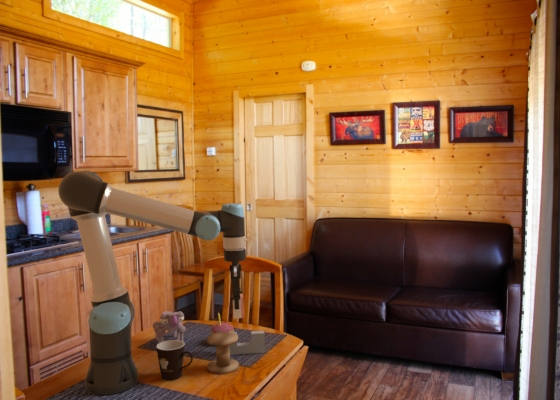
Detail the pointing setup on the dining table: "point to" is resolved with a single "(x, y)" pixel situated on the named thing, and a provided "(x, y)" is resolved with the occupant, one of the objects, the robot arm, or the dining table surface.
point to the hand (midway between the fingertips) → (237, 315)
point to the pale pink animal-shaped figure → (169, 325)
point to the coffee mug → (171, 359)
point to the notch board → (250, 344)
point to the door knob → (222, 353)
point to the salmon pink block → (241, 306)
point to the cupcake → (221, 327)
